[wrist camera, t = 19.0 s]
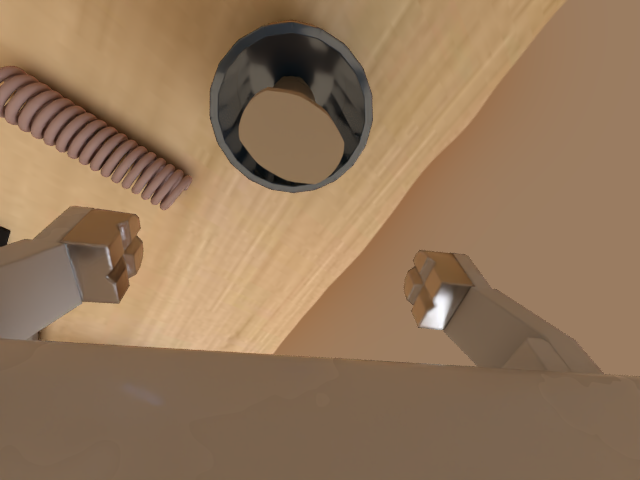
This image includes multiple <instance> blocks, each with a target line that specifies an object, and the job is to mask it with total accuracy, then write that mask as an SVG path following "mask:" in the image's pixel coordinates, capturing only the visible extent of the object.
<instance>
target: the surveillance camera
mask: <svg viewBox="0 0 640 480" xmlns="http://www.w3.org/2000/svg"><path fill="white" fill-rule="evenodd" d="M9 233H10V231H9V230H7V229H4V228H2V227H0V247H2V246H5V245H7V241H8V237H9Z"/></svg>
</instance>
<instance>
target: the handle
mask: <svg viewBox="0 0 640 480" xmlns="http://www.w3.org/2000/svg"><path fill="white" fill-rule="evenodd" d="M239 139H240V141H241V142H242V144H243V145H244V147H245V148H246V149H247V151H248V152H249V153H250V155H251V156H252V157H253V159H254V160H255V161H256V162H257V163H258V164H259V165H261V166H262V167H263V168H265V169H266V170H268V171H270V172H272V173H273V174H275V175H277V176H278V177H280V178H283V179H285V180H287V181H292V182H298V183H307V184H317V183H319V182H321V181H323V180H325V179H326V178H327V177H328V176H330V175H331V174H332V172H333V171H334V170H335V169H336V168H337V166H338V164H339V163H340V161H341V158H342V156H343V151H344V141H343V139H342V137H341V135H340V133H339V131H338V129H337V127H336V125H335V124H334V122H333V120H332V119H331V117H330V116H329V114H328V113H327V111H326V110H325V109H323V108H322V107H321V106H320V105H318V104H317V103H316V102H315V98H314V95H313V93H312V91H311V89H310V88H309V86H308V85H307V84H306V83H305V82H304V80H303V79H302V78H300V77H294V76H287V77H286V76H284V77H282V78H281V79H280V80H279V81H278V82H277V83H276V84H275V85H274V86H273V88H271V87H267V88H265V89H263V90H261V91H260V92H258V93H257V94H255V96H254V97H253V98H252V99H251V100H250V101H249V103H248V105H247V106H246V108H245V110H244V112H243V114H242V117H241V119H240V124H239Z"/></svg>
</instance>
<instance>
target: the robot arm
mask: <svg viewBox="0 0 640 480" xmlns="http://www.w3.org/2000/svg"><path fill="white" fill-rule="evenodd" d="M140 229H141V227H140V221H139V217H138V216H137V215H136V214H130V213H123V212H116V211H109V210H102V209H94V208H88V207H80V206H72V207H69V208H68V209H67V210H66V211H64V212H63V213H62V214H61V215H60V216H59V217H58V218H56V219H55V220H54V221H53V222H52V223H51V224H50V225H48V226H47V227H46V228H45V229H44V230H43V231H42V232H41V233H39V234H38V235H37V236H36V237H35V238H34V239H33V240H29V239H24V240H20V241H17V242H14V243H11V244H8V245H5V246H2V247H0V480H640V376H625V375H610V374H604V373H603V372H602V371H601V370H600V368H599V367H598V366H597V365H596V364H595V363H594V361H593V360H592V359H591V358H590V357H589V356H588V355H587V353H586V352H585V351H584V350H583V349H582V347H581V346H580V345H579V344H578V343H577V342H576V341H575V340H574V339H573V338H571V337H570V336H568V335H566V334H565V333H563V332H562V331H560V330H559V329H557V328H556V327H554V326H553V325H551V324H550V323H548V322H546V321H545V320H543V319H542V318H540V317H539V316H537V315H535V314H534V313H533V312H531V311H529V310H528V309H526V308H525V307H523V306H522V305H520V304H519V303H517V302H516V301H514V300H512V299H511V298H509V297H508V296H506V295H505V294H503V293H502V292H500V291H499V290H497V289H492V288H491V287H490V285H489V284H488V282H487V281H486V280H485V278H484V277H483V276H482V274H481V273H480V271H479V270H478V269H477V267H476V266H475V265H474V263H473V262H472V260H471V259H470V258H469V257H468V256H467V255H465V254H456V253H443V252H434V251H423V250H419V251H418V252H417V253H416V255H415V257H414V259H413V262H414V265H415V267H413V268H412V269H410V270H409V271H408V272H407V275H406V277H405V281H404V293H405V296H406V299H407V300H408V301H409V302H410V303H411V304H412V305H413V308H412V310H411V311H412V314H413V316H414V319H415V321H416V323H417V326H418V328H427V329H436V330H444V332H445V333H446V334H447V335H448V337H450V339H451V340H452V341H454V343H456V345H457V346H458V347H459V348H460V349H461V350H462V351H463V352H464V353H465V354H466V355H467V356H468V357H469V358H470V359H471V360H472V361H473V362H474V363H475V364H476V365H477V366H478V367H474V366H456V365H439V364H421V363H406V362H390V361H374V360H358V359H342V358H324V357H307V356H290V355H274V354H257V353H239V352H222V351H205V350H189V349H172V348H155V347H138V346H121V345H105V344H88V343H71V342H54V341H37V340H26V339H28V338H29V337H31V336H32V335H34V334H35V333H37V332H38V331H40V330H42V329H43V328H45V327H46V326H48V325H49V324H51V323H52V322H54V321H56V320H57V319H59V318H60V317H62V316H63V315H65V314H66V313H68V312H69V311H71V310H73V309H74V308H76V307H77V306H79V305H80V304H82V302H99V303H117V304H119V303H120V301H121V299H122V298H123V296H124V294H125V292H126V291H127V289H128V287H129V286H130V285H129V279H128V278H130V277H132V276H134V275H136V274H137V272H138V270H139V268H140V266H141V262H142V259H143V242H142V241H141V240H140V238H139V237H138V236H137V233H138V232H139V230H140Z"/></svg>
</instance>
